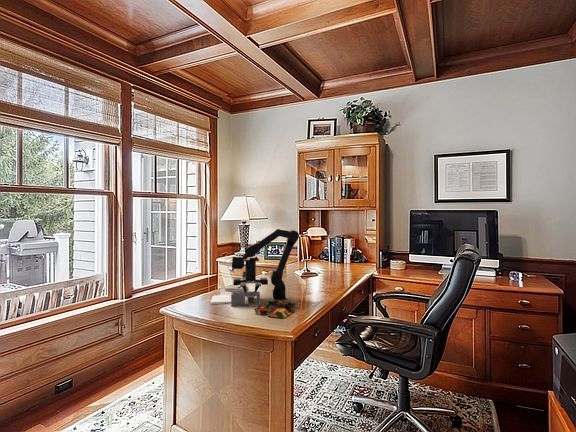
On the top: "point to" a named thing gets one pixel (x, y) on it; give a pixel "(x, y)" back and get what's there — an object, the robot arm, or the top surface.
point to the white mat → (221, 299)
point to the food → (276, 309)
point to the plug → (250, 298)
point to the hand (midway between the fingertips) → (250, 297)
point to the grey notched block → (243, 298)
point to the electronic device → (236, 288)
